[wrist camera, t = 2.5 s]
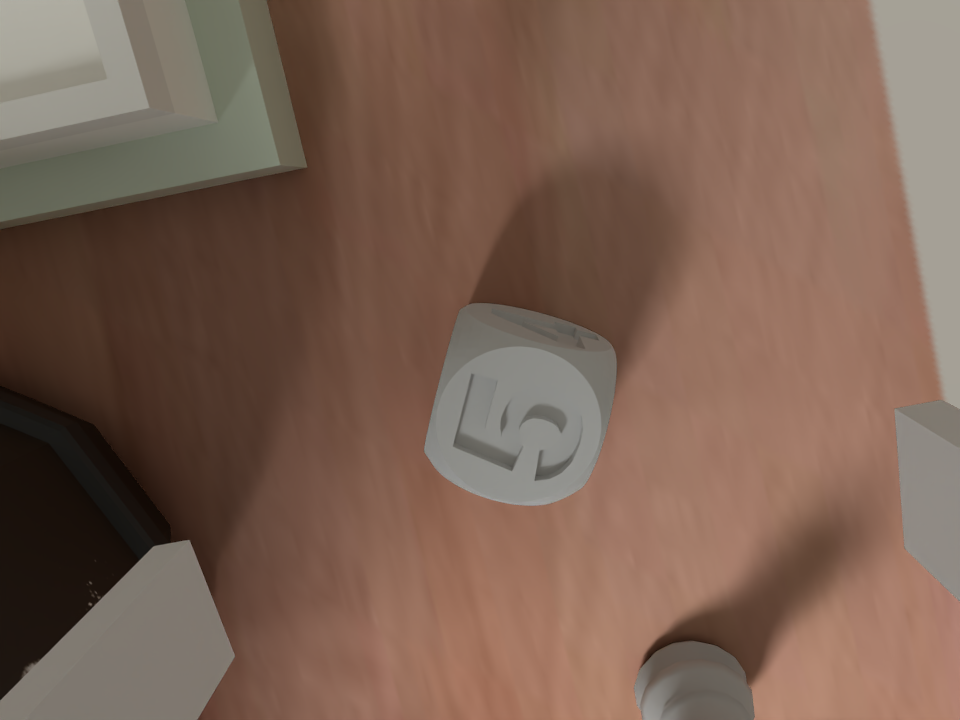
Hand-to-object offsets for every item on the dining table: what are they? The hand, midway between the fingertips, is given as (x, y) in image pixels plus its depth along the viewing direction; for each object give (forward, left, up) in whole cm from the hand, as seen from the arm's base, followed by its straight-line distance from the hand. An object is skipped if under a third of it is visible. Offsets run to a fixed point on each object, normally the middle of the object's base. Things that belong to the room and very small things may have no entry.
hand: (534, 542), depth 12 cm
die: (0, 0, -12) cm, 12 cm away
